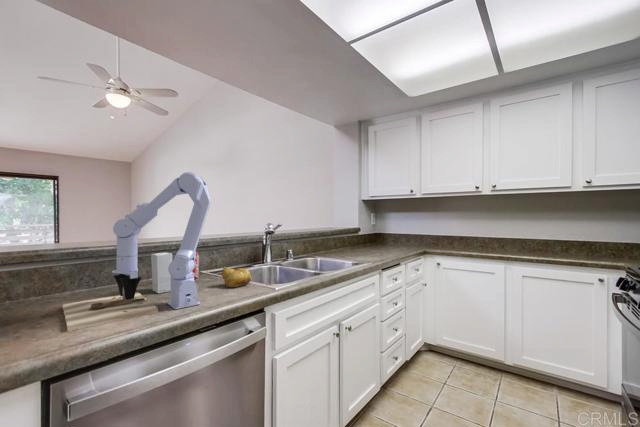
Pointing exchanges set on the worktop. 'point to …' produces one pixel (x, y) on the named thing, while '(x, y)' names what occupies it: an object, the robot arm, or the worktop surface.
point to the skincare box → (161, 272)
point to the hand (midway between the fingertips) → (127, 297)
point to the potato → (236, 277)
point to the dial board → (104, 311)
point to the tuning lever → (114, 302)
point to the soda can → (196, 268)
